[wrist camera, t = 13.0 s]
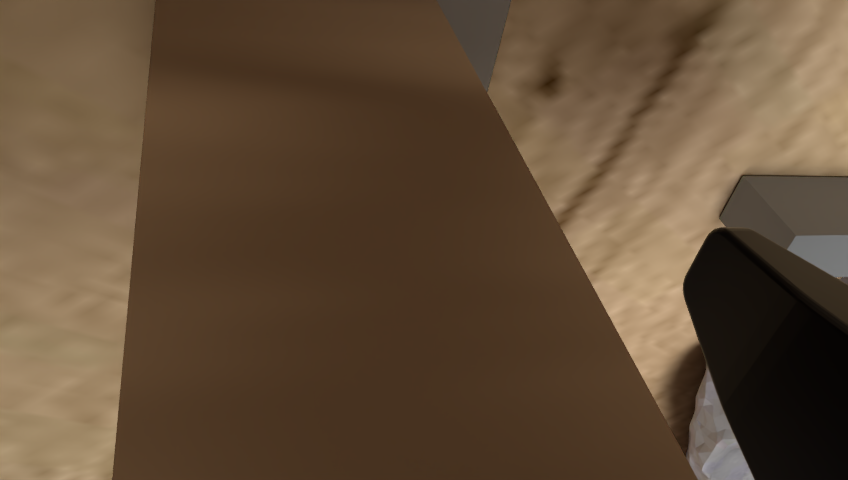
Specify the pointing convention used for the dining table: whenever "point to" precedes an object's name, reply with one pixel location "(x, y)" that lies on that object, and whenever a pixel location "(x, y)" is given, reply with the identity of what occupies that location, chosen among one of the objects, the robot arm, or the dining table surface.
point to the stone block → (715, 438)
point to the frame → (796, 216)
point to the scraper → (359, 264)
